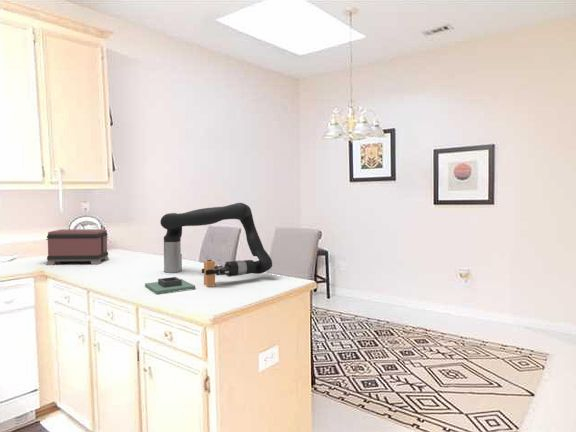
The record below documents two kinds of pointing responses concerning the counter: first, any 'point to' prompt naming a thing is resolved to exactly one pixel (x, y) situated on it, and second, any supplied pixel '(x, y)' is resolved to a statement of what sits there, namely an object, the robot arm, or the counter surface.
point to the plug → (209, 279)
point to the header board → (169, 285)
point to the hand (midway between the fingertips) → (204, 271)
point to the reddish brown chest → (77, 245)
